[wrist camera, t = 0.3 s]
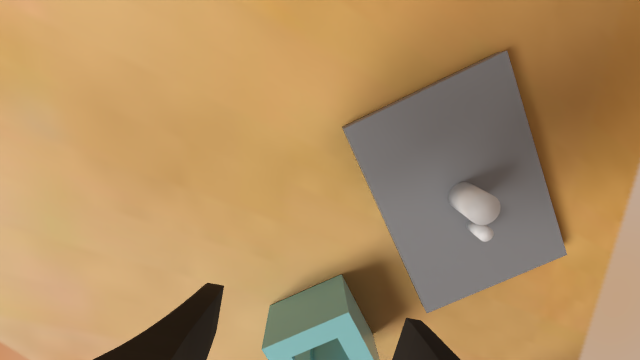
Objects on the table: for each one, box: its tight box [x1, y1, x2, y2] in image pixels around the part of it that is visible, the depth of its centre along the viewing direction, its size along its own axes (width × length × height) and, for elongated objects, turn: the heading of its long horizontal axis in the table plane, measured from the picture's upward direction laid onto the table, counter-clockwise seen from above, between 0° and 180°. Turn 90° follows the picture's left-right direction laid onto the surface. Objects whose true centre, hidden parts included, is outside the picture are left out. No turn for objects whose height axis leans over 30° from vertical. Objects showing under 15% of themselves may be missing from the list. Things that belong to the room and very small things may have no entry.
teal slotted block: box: [262, 274, 380, 360], centre depth 21 cm, size 6×6×4 cm
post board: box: [342, 51, 567, 313], centre depth 19 cm, size 14×10×4 cm
